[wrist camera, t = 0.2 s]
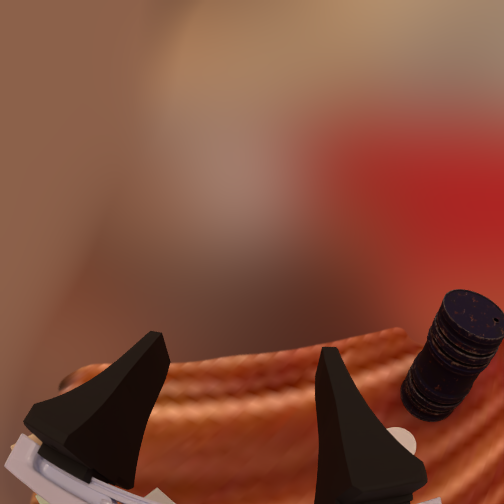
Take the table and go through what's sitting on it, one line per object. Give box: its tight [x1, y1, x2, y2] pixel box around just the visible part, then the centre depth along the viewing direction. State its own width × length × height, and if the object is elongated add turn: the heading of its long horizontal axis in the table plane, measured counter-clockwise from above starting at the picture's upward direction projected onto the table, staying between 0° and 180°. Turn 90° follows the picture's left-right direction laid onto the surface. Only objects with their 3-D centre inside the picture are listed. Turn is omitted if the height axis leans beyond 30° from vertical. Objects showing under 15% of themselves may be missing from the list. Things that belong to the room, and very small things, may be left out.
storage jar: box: [401, 289, 504, 422], centre depth 26 cm, size 10×10×15 cm
